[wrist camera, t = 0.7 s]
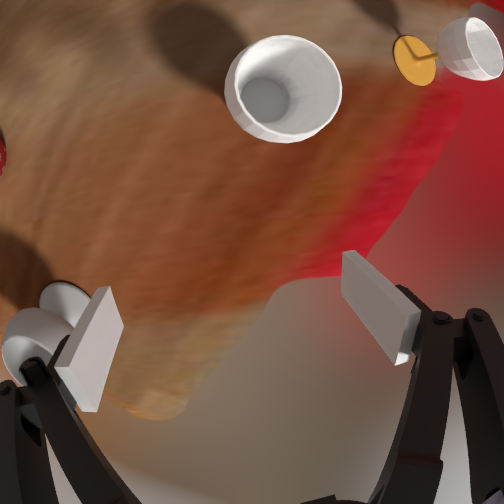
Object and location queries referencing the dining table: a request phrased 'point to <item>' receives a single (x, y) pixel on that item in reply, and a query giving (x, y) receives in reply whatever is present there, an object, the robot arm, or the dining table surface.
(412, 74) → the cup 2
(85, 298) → the chalice
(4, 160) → the christmas ornament
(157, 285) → the dining table surface
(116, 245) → the dining table surface
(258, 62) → the cup
